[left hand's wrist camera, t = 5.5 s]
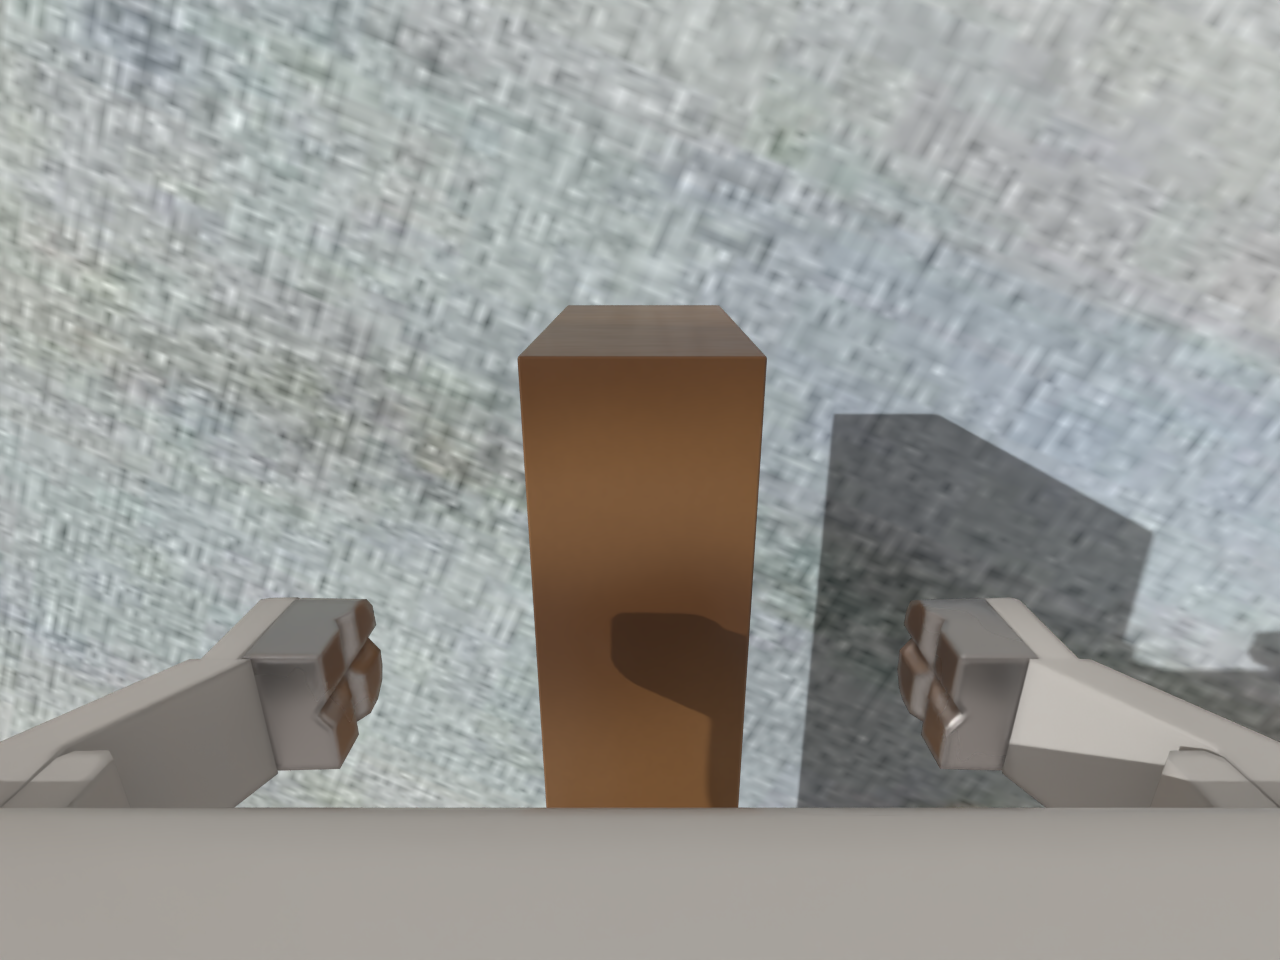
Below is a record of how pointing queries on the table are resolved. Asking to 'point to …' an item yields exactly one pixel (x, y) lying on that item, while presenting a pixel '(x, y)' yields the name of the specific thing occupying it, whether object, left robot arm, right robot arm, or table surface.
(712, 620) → the bar
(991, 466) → the table surface
